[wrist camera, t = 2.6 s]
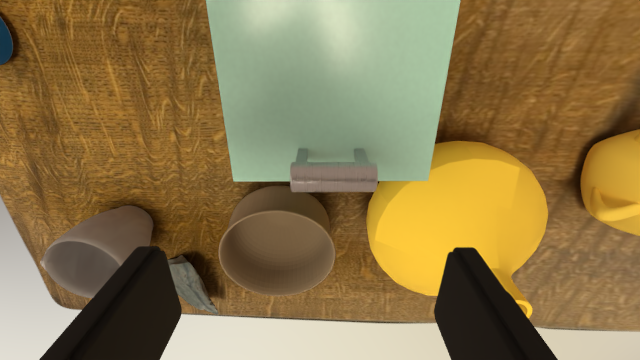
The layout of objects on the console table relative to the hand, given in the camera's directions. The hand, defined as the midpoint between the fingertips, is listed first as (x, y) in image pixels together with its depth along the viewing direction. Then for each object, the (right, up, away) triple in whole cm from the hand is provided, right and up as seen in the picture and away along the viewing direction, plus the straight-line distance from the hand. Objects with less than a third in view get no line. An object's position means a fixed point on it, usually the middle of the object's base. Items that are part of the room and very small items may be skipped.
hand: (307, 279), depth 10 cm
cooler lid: (+1, +9, +10) cm, 14 cm away
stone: (-20, -11, +36) cm, 43 cm away
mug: (-27, -3, +32) cm, 42 cm away
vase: (+15, +2, +29) cm, 33 cm away
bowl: (-4, -1, +31) cm, 31 cm away
